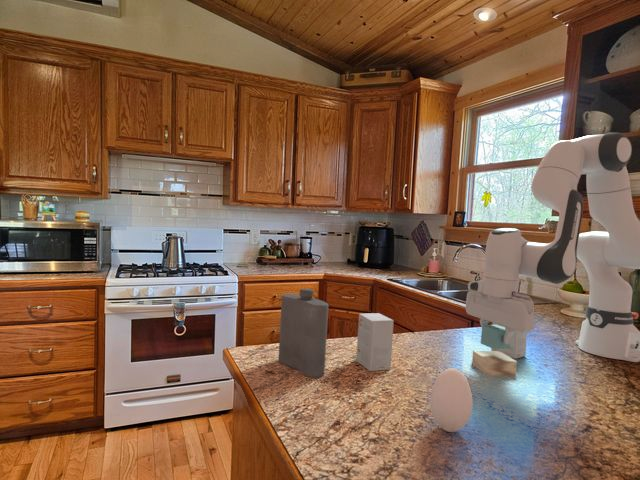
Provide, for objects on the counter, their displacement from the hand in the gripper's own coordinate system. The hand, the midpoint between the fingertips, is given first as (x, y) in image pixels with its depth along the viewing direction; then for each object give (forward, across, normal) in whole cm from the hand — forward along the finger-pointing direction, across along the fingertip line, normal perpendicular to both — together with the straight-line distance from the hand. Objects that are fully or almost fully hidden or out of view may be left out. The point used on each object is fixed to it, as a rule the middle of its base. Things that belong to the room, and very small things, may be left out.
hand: (495, 339), depth 108 cm
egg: (+8, -22, +34) cm, 41 cm away
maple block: (+8, 0, 0) cm, 9 cm away
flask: (+9, +14, +50) cm, 53 cm away
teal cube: (+2, 0, 0) cm, 2 cm away
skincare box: (+8, +9, -15) cm, 19 cm away
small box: (+8, +11, +31) cm, 34 cm away
